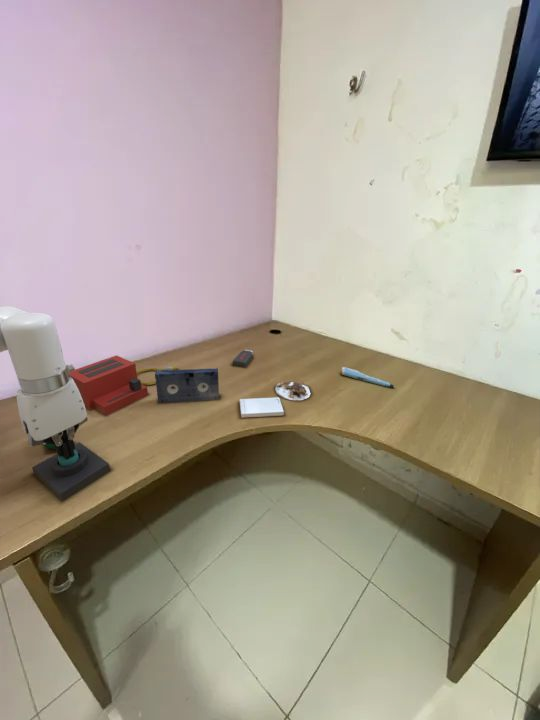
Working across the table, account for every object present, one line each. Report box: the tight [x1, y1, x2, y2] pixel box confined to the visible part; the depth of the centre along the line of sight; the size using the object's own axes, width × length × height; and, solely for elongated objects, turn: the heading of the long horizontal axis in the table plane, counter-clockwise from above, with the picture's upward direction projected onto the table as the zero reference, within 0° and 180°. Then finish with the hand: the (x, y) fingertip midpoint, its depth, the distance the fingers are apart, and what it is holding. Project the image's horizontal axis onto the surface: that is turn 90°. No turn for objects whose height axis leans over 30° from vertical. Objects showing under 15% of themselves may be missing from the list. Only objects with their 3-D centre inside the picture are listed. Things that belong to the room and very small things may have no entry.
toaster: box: [69, 355, 149, 417], centre depth 94 cm, size 16×16×9 cm
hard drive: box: [239, 396, 285, 419], centre depth 93 cm, size 2×8×12 cm
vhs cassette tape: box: [154, 368, 220, 404], centre depth 94 cm, size 18×3×10 cm, turn 99°
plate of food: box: [274, 381, 311, 401], centre depth 102 cm, size 12×12×4 cm
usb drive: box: [232, 349, 254, 369], centre depth 123 cm, size 5×12×3 cm, turn 166°
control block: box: [31, 441, 111, 502], centre depth 67 cm, size 12×10×4 cm
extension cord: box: [136, 365, 178, 387], centre depth 108 cm, size 12×16×2 cm
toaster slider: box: [129, 377, 142, 391], centre depth 94 cm, size 2×2×3 cm
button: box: [58, 450, 79, 466], centre depth 66 cm, size 4×4×2 cm
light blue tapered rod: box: [341, 366, 395, 388], centre depth 112 cm, size 19×3×3 cm, turn 61°
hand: (67, 454), depth 66 cm, fingers closed
